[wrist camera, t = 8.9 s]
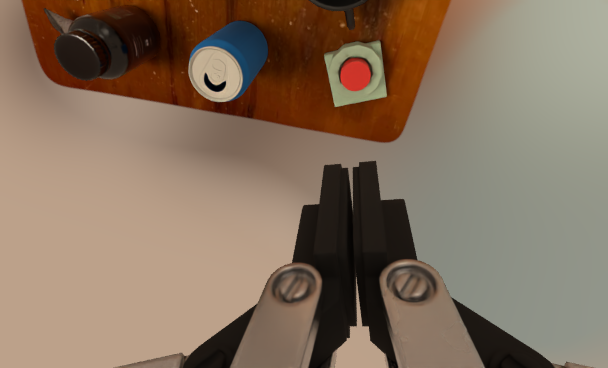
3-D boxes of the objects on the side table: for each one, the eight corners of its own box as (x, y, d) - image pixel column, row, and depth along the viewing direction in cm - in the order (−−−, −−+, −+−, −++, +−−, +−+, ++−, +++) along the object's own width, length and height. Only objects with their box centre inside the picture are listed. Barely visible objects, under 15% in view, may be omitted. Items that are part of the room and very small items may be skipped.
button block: (323, 47, 43) (321, 53, 40) (378, 33, 41) (380, 39, 39) (335, 103, 47) (334, 112, 45) (386, 93, 45) (388, 102, 43)
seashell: (89, 64, 43) (111, 44, 44) (31, 15, 41) (56, -6, 41) (97, 73, 47) (117, 54, 48) (45, 28, 45) (68, 9, 46)
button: (338, 61, 41) (337, 65, 40) (367, 54, 40) (368, 58, 39) (343, 89, 43) (343, 94, 42) (371, 83, 42) (372, 88, 41)
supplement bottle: (161, 66, 47) (112, 98, 37) (112, 51, 46) (49, 79, 36) (162, 14, 43) (108, 34, 33) (109, -4, 42) (37, 11, 32)
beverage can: (215, 60, 45) (179, 91, 36) (226, 10, 42) (189, 30, 32) (261, 79, 46) (237, 114, 36) (275, 32, 42) (254, 58, 33)
